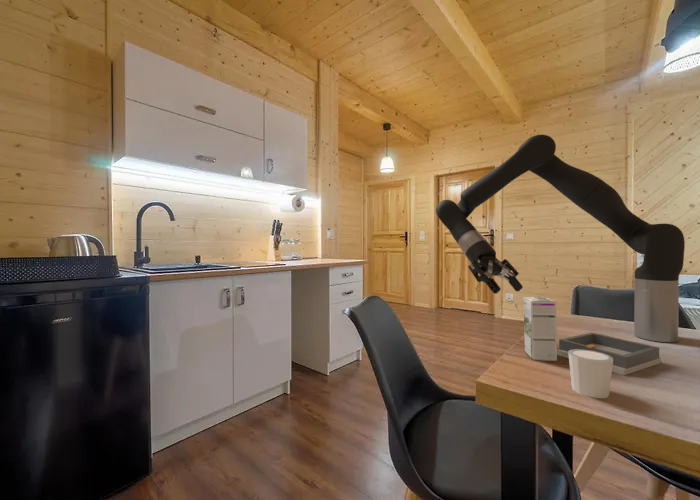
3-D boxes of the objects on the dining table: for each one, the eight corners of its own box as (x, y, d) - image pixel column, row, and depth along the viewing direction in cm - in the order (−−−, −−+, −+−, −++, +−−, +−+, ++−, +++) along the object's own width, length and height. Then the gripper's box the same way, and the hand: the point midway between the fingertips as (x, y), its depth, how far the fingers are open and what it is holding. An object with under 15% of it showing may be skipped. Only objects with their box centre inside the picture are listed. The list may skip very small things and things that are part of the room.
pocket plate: (593, 345, 86) (593, 330, 86) (661, 362, 73) (661, 345, 73) (556, 354, 79) (556, 338, 79) (623, 375, 67) (623, 356, 67)
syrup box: (558, 361, 75) (558, 300, 74) (530, 360, 76) (530, 300, 76) (548, 353, 80) (548, 296, 80) (522, 352, 82) (522, 296, 81)
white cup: (559, 383, 63) (559, 348, 63) (594, 383, 63) (594, 348, 63) (584, 399, 57) (584, 361, 56) (623, 400, 56) (623, 361, 56)
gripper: (464, 239, 91) (498, 283, 80) (500, 239, 97) (535, 280, 86) (452, 257, 96) (482, 301, 85) (486, 256, 101) (518, 296, 91)
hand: (509, 290), depth 86 cm, fingers open, 8 cm apart
